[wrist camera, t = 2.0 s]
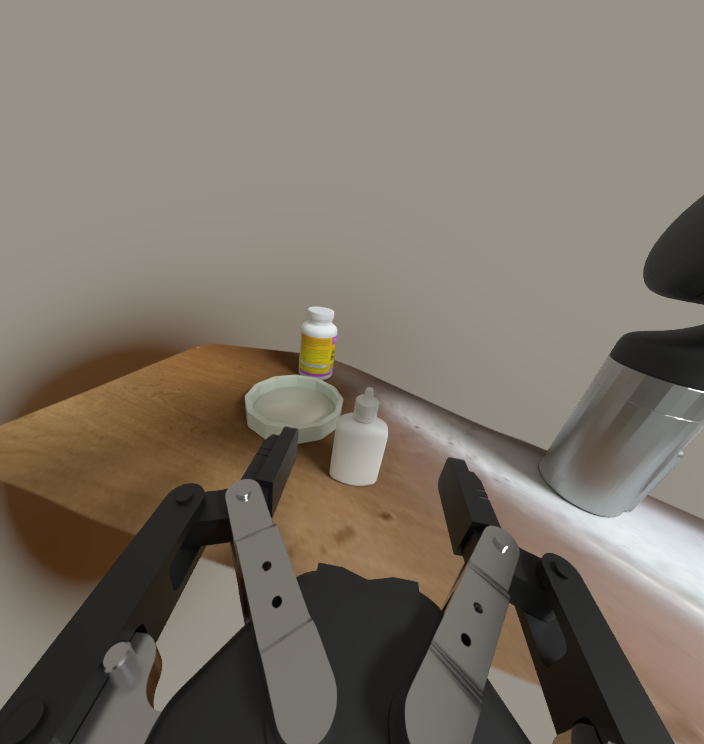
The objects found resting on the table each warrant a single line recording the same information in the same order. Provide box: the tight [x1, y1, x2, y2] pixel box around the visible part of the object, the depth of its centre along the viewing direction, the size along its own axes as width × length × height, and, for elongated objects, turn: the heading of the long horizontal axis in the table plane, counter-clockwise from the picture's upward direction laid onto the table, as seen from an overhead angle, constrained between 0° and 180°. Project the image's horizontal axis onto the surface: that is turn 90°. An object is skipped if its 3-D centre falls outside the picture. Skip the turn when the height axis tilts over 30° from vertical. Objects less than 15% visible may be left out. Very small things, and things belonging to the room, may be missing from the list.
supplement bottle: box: [299, 307, 337, 380], centre depth 49 cm, size 7×7×13 cm
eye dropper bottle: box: [329, 387, 388, 486], centre depth 29 cm, size 4×6×12 cm
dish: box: [245, 375, 343, 444], centre depth 40 cm, size 14×14×2 cm
